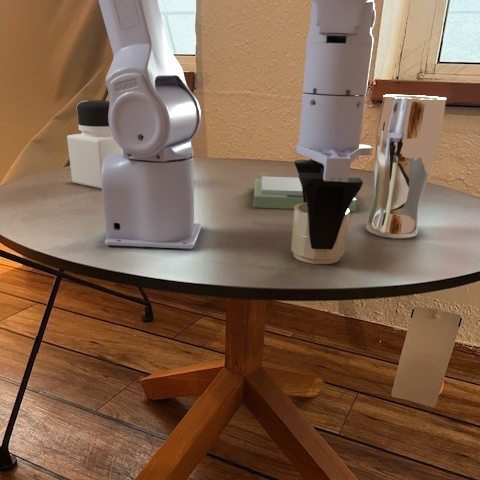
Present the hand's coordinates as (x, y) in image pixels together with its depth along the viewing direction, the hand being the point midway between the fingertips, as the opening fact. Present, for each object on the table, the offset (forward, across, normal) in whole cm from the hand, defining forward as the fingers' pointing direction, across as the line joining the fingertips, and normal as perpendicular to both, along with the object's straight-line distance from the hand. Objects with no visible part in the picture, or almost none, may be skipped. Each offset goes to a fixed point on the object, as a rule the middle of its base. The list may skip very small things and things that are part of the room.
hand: (318, 238), depth 52 cm
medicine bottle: (+2, +30, +31) cm, 43 cm away
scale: (+2, +24, 0) cm, 24 cm away
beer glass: (+2, +10, -10) cm, 14 cm away
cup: (+2, 0, 0) cm, 2 cm away
